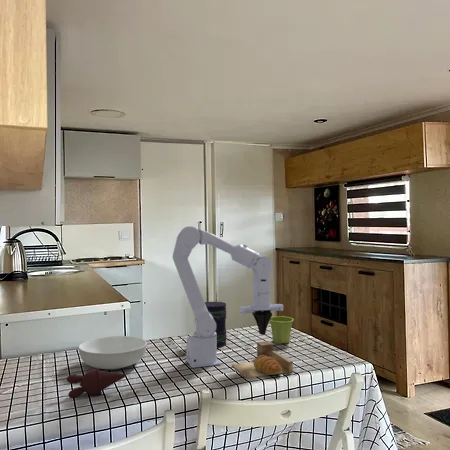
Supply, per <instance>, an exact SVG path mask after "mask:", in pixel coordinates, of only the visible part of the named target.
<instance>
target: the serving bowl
mask: <svg viewBox="0 0 450 450" xmlns="http://www.w3.org/2000/svg"><path fill="white" fill-rule="evenodd" d="M147 345H148V342H147V340H145V339H143V338H141V337H136V336H126V335H115V336H114V335H112V336H102V337H96V338H93V339H88V340H86V341H83V342H82V343H80V344H79V345H78V353H79V356H80V358H81V360H82V361H83V363H84V364H86V365H87V366H90V367H91V368H94V369H96V368H97V367H98V369H100V370H105V371H106V370H108V371H109V370H110V371H111V370H112V371H113V370H118V369H119V370H120V369H124V368H126V367H129V366H132V365H135V364H136V363H138V362H139V361H140V360H141V359H142V358H143V356H144V355H145V353H146V351H147Z"/></svg>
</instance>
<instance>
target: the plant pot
mask: <svg viewBox="0 0 450 450" xmlns="http://www.w3.org/2000/svg"><path fill="white" fill-rule="evenodd" d="M293 322H294V318H292V317H290V316H285V315H282V316H272V317H271V318H270V320H269V324H270V327H271V328H270V329H271V334H272V342H273V343H275V344H279V345H282V344H289V343H290V341H291V340H290V339H291V332H292V327H293V326H292V325H293Z"/></svg>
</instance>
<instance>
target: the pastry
mask: <svg viewBox="0 0 450 450" xmlns="http://www.w3.org/2000/svg"><path fill="white" fill-rule="evenodd" d="M253 362H254V367H255V369H257V370H258V371H260V372H263V373H265V374H273V375H278V374H277V373H281V371H282V367H281V365H280V364H279V362H278V361H276V360H275V359H274V358H272V357H267V356H265V355H260V356H259V357H257V356H256V358H255V359H254V361H253ZM281 374H282V373H281Z"/></svg>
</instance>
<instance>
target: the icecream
mask: <svg viewBox="0 0 450 450" xmlns="http://www.w3.org/2000/svg"><path fill="white" fill-rule="evenodd" d="M99 369H100V368H98V367H97V368H92V369H90V370H88V371H86V372H85V373H84V375H81V374H80V375H79V374H77V373H74V374H73V373H72V374H69V375H67V377H66V382H67V383H69V384H73V385H74V384H75V385H77V384H78V383H79V386H80V387H76V388H74V389H72V390H70V391H69V392H68V395H67V396H68V398H72V399H73V398H78V397H80V396H81V395H82V394H83V393H84V394H85V393H86V394H88V395H91V396H94V395H95V396H96V395H97V396H98V395H102V394H103V393H102V391H104V390H106V389H107V388H109V387H110V386H112V385H114V384H116V383H117V382H119V381H120V380H122V379H124V378H126V377H127V374H125V373H118V372H112V371H111V372H110V371H106V370H104V371H103V370H99Z"/></svg>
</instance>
